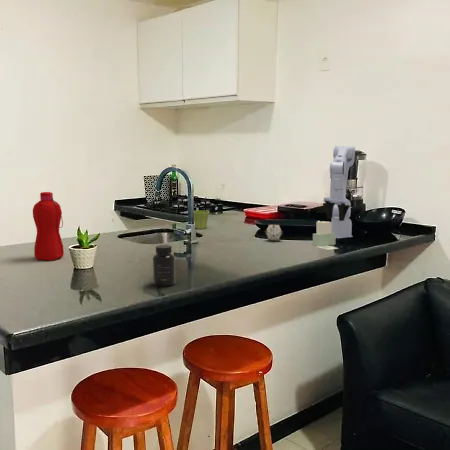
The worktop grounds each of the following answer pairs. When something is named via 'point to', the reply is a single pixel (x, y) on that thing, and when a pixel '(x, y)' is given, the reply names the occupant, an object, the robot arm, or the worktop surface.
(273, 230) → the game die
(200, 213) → the plant pot
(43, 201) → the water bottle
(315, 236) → the sage brick
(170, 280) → the supplement bottle
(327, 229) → the ivory brick
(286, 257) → the worktop surface
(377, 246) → the worktop surface
